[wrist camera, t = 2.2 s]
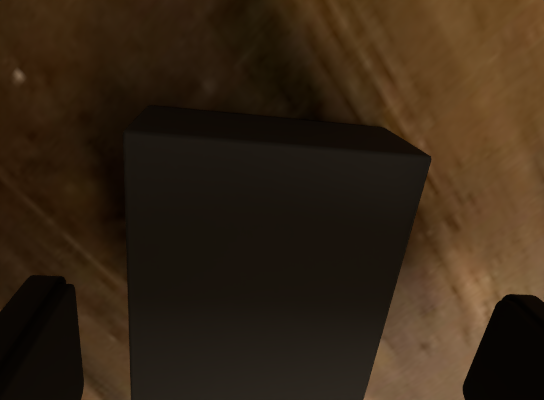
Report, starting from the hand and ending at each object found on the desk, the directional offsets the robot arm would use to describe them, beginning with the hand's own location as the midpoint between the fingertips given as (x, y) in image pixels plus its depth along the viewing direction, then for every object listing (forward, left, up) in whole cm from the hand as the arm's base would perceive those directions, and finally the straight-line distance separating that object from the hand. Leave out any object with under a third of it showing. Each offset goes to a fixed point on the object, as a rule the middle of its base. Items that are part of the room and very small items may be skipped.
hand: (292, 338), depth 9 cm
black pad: (+1, -2, -5) cm, 5 cm away
